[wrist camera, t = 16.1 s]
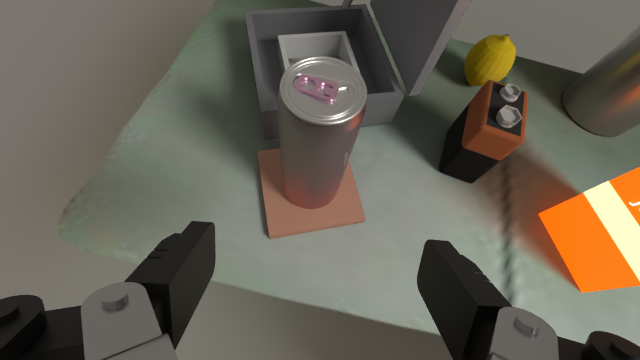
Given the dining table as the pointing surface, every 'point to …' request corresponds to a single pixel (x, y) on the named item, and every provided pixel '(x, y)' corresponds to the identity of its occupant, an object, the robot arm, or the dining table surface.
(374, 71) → the equipment case
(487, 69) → the fruit
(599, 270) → the orange juice
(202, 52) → the dining table surface
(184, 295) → the robot arm
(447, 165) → the battery
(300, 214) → the mat
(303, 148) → the beverage can
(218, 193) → the dining table surface
